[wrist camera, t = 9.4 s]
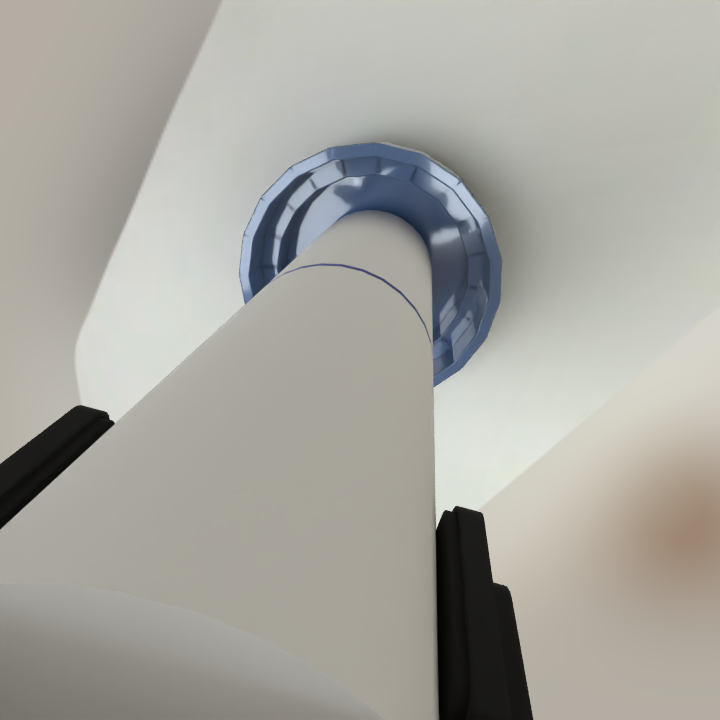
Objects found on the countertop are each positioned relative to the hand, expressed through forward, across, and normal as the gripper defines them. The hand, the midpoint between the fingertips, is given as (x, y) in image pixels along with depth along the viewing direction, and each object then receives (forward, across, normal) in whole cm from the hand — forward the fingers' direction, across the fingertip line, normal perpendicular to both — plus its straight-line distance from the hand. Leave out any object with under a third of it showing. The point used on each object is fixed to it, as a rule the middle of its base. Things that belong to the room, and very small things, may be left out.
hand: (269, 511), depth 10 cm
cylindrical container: (+20, 0, 0) cm, 20 cm away
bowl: (+22, 0, 0) cm, 22 cm away
